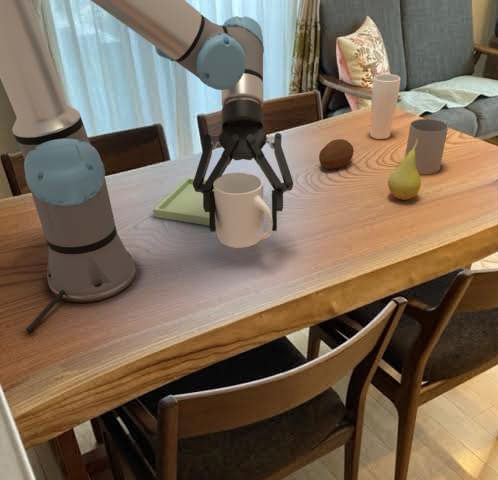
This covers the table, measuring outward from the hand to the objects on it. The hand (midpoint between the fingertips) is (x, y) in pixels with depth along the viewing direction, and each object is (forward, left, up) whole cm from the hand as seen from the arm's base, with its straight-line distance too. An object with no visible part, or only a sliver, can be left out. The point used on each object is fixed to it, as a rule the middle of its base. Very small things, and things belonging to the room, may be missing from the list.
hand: (243, 229), depth 94 cm
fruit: (+36, -23, -8) cm, 43 cm away
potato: (+48, -5, -8) cm, 49 cm away
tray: (+20, +17, -8) cm, 27 cm away
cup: (+53, -25, -8) cm, 59 cm away
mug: (+3, +1, -4) cm, 5 cm away
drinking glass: (+70, -12, -8) cm, 71 cm away
